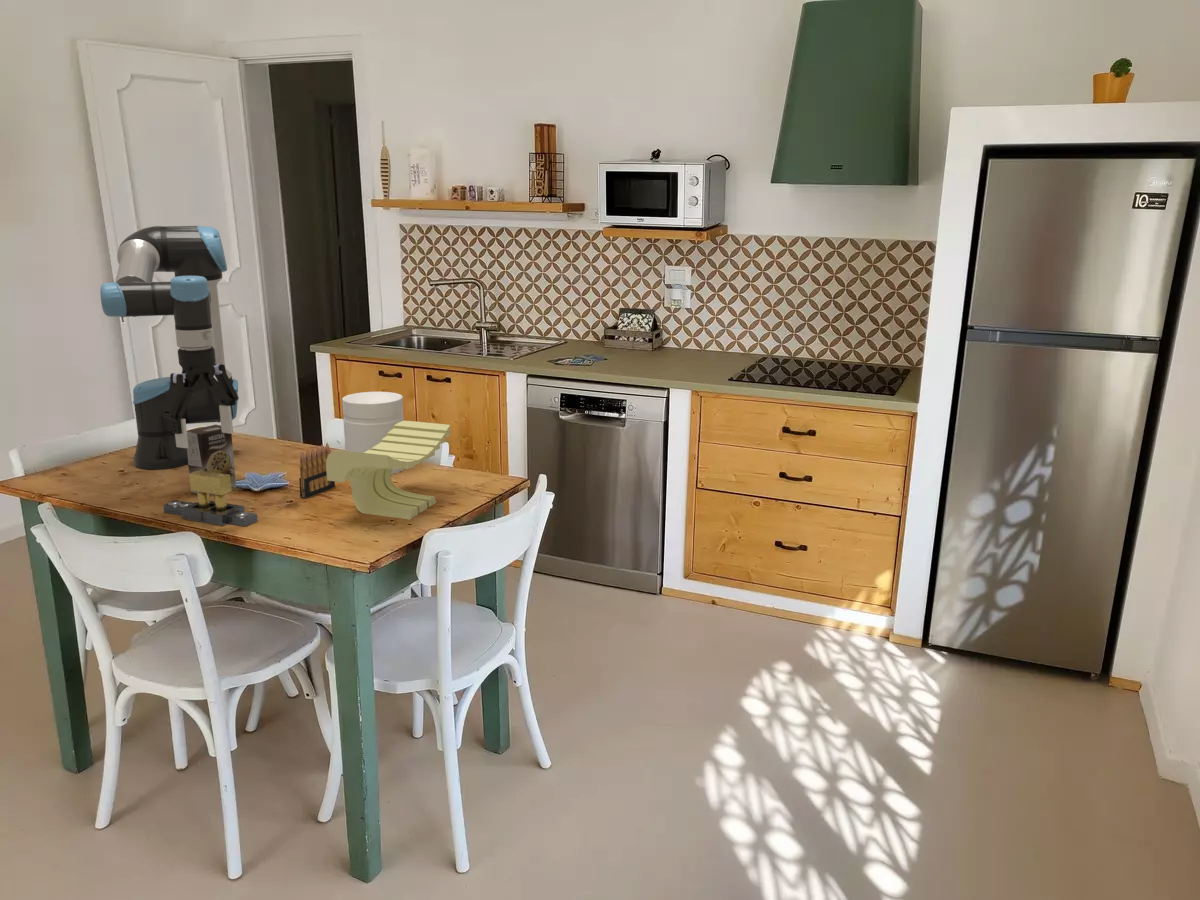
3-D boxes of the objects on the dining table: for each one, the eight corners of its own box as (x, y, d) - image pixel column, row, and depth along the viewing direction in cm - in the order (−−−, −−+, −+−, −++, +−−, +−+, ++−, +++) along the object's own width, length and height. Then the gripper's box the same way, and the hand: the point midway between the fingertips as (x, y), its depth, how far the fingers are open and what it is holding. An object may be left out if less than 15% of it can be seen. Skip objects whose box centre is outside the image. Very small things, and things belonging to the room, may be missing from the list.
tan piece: (193, 516, 210) (188, 473, 208) (204, 512, 213) (199, 470, 210) (224, 522, 207) (219, 478, 204) (234, 517, 210) (229, 474, 207)
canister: (398, 477, 243) (394, 404, 237) (339, 475, 243) (334, 403, 238) (411, 460, 258) (408, 392, 253) (355, 459, 258) (351, 391, 253)
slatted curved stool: (396, 485, 235) (393, 419, 231) (452, 492, 231) (449, 424, 226) (330, 523, 208) (324, 448, 203) (391, 531, 203) (387, 455, 198)
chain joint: (159, 514, 212) (157, 504, 211) (182, 505, 218) (181, 495, 217) (240, 528, 203) (239, 518, 203) (262, 519, 210) (261, 508, 209)
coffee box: (206, 496, 224) (199, 434, 220) (190, 492, 228) (183, 430, 223) (237, 487, 232) (232, 426, 228) (222, 483, 235) (215, 423, 231)
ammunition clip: (329, 486, 234) (326, 441, 231) (335, 487, 234) (332, 442, 230) (300, 497, 225) (296, 451, 222) (305, 498, 224) (302, 452, 221)
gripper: (164, 357, 187) (175, 455, 193) (249, 340, 210) (257, 428, 215) (136, 354, 190) (148, 451, 196) (223, 338, 212) (232, 425, 218)
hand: (205, 439), depth 206 cm, fingers open, 13 cm apart
